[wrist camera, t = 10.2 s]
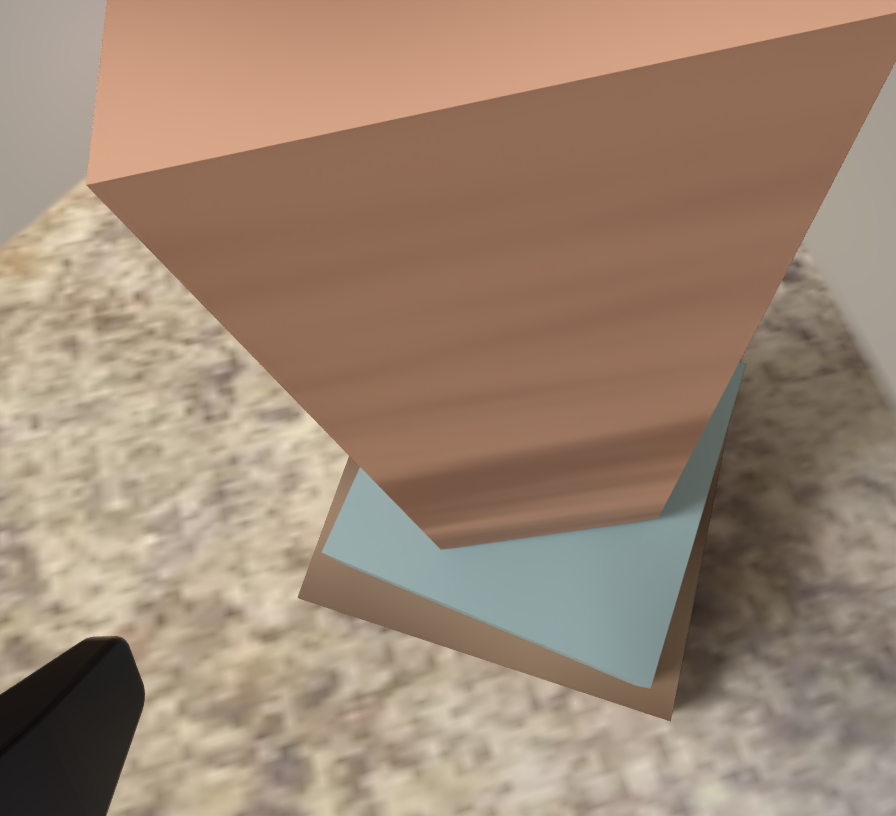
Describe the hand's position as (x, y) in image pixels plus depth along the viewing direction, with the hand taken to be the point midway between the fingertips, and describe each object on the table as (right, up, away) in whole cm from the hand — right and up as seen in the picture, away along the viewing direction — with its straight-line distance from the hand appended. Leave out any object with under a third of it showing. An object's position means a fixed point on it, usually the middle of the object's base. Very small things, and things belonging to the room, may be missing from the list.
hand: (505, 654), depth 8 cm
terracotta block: (+1, +2, +9) cm, 9 cm away
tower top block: (+2, +1, +11) cm, 12 cm away
